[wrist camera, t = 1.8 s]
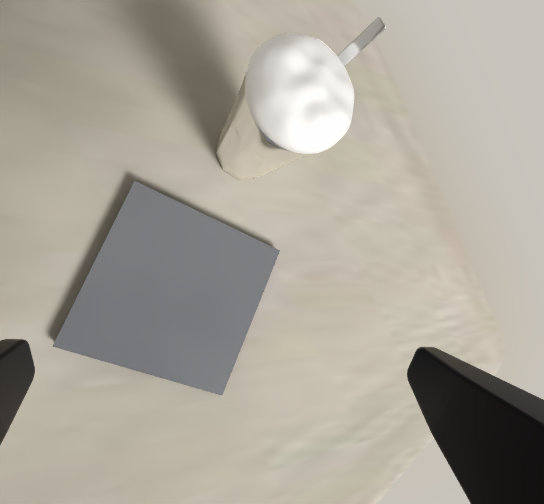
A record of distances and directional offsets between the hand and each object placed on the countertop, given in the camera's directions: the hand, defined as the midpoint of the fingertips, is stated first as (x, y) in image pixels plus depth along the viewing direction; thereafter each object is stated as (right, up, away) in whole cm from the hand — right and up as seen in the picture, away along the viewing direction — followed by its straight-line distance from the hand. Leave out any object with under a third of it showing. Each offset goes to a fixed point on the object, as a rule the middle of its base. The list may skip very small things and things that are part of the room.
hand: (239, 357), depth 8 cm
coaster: (-4, 0, +11) cm, 12 cm away
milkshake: (-1, +9, +13) cm, 16 cm away
